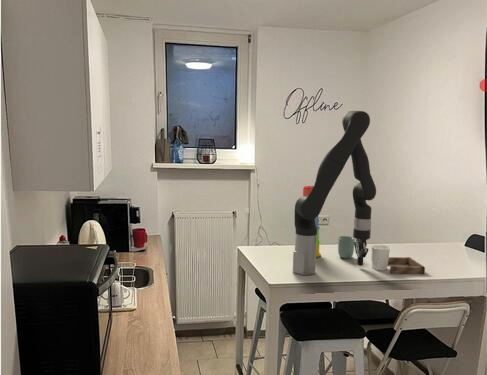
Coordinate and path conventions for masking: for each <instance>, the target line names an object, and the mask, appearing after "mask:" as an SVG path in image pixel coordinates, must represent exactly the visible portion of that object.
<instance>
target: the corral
mask: <svg viewBox="0 0 487 375" xmlns="http://www.w3.org/2000/svg"><path fill="white" fill-rule="evenodd" d="M388 265H391V266H390V267H389V274H391V275H425V273H426V272H425V270H426V267H425V266H424V265H422V264H421V263H419V262H418V261H416V260H414V259H413V258H412V257H407V256H405V257H404V256H403V257H401V256H399V257H398V256H397V257H393V256H389V260H388ZM395 265H396V266H395ZM397 265H398V266H397ZM400 265H401V266H400ZM403 265H404V266H403Z"/></svg>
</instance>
